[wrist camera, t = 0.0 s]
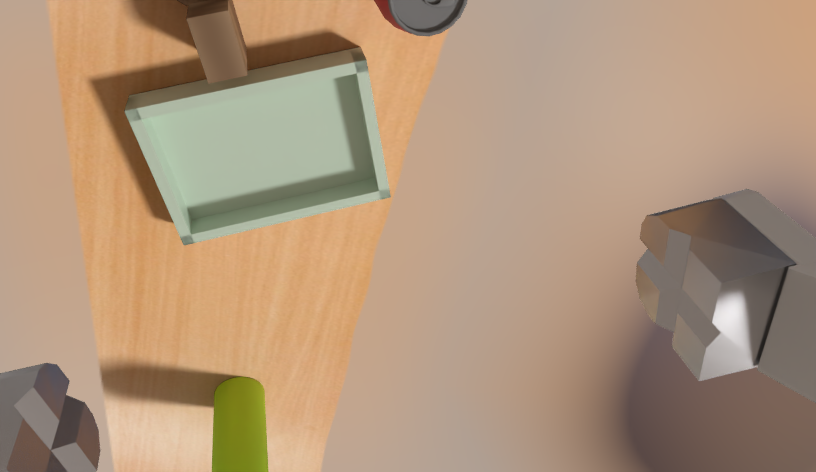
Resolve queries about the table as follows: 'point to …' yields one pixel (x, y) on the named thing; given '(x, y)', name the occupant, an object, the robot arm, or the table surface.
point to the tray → (263, 145)
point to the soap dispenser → (239, 427)
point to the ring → (217, 38)
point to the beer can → (422, 14)
